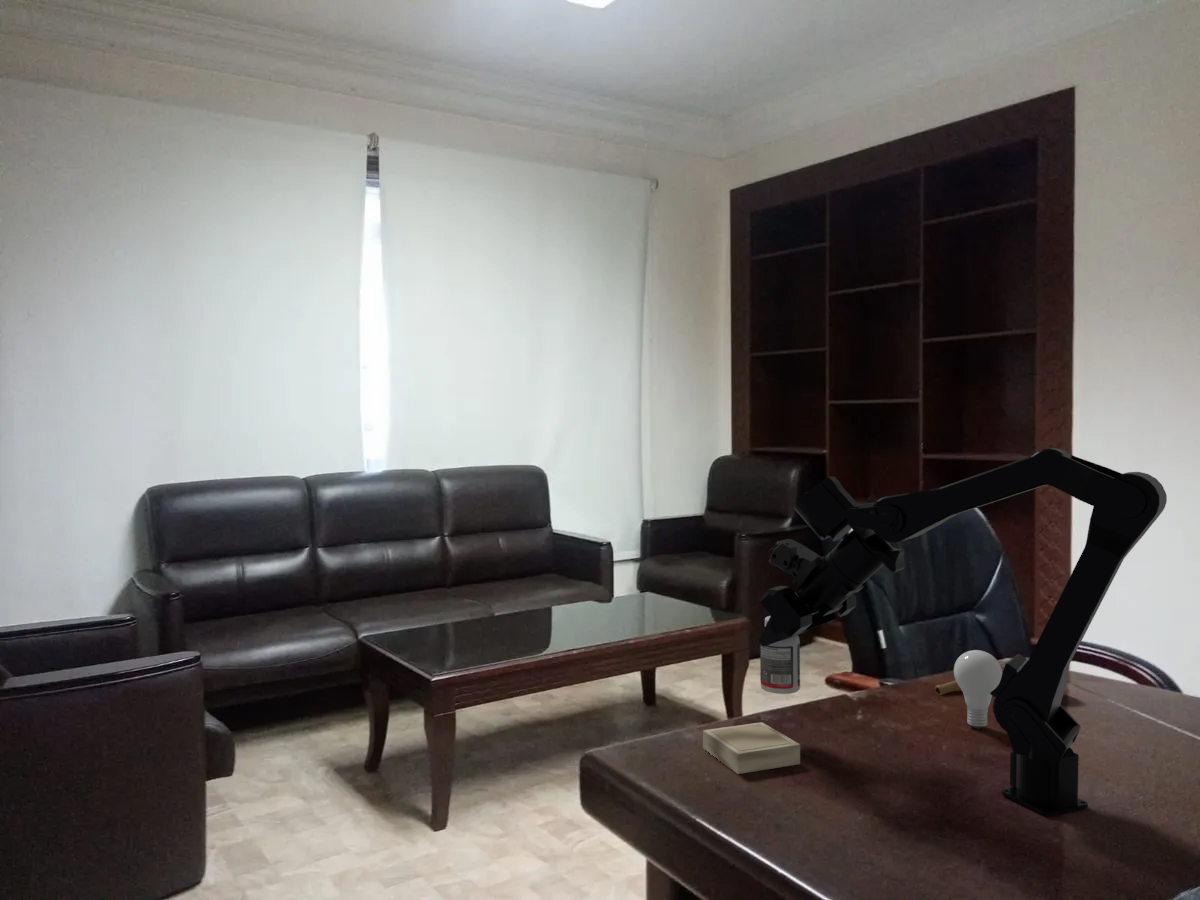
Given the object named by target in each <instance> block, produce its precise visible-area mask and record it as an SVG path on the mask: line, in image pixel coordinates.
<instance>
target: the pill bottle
mask: <svg viewBox="0 0 1200 900" xmlns="http://www.w3.org/2000/svg"><path fill="white" fill-rule="evenodd" d="M770 616H771V615H768V616H766V617H765V618H764V627H765V626H766V624H767V622H768V620H769V618H770ZM759 648H760V649H759V655H760V657H759V660H760V661H759V663H760V665H759V666H760V667H759V668H760V669H759V670H760V678H759V679H760V688H761V689H762V690H763V691H764V692H767V693H771V694H778V695H788V694H794V693H796V692H798V691H799V690H800V689H801V657H800V656H801V655H800V654H801V640H800V637H799V635H796V636H793V637H790V638H787V639H784V640H781V641H778V642H775V643H773V644H770V645H767V646H764V647H763V646H762V645H761V644H760V643H759Z"/></svg>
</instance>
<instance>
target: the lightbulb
mask: <svg viewBox="0 0 1200 900" xmlns="http://www.w3.org/2000/svg"><path fill="white" fill-rule="evenodd" d="M1002 672H1003V670H1002V666H1001V665H1000V663H999V660H997V658H996V657H995V656H994V655H992V654H990V653H989V652H986V651H984V650H979V649H973V650H968V651H965V652H963V653H962V654H961V655H960V656H959V657H957V659H956V661H955V662H954V666H953V676H954V681H955V680H956V682H957V684H958V685H959V687H960V688H961V690H960V691H962V693H963V696H964V697H963V698H964V703H965V704H966V709H967V710H966V715H967V717H966V718H967V719H966V720H967V721H966V723H967V724H968V725H970V726H971V727H972V728H974V729H982V728H984V727H986V726H988V713H989V712H988V710H989V707H990V705H991V700H992V698H993V697H994V695H991V694H990V693H991V692H992V691H993V690H994V689H995V688H996V687H997V686H998V685H999V683H1000V680H1001V677H1002Z"/></svg>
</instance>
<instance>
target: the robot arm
mask: <svg viewBox="0 0 1200 900" xmlns="http://www.w3.org/2000/svg"><path fill="white" fill-rule="evenodd" d="M1045 486H1051V487H1053V488H1055V489H1057V490H1060V491H1061V492H1063V493H1065V494H1067V495H1069V496H1071V497H1072V498H1075V499H1077V500H1079V501H1081V502H1082V503H1085V504H1088V505H1090V506H1092V512H1091V515H1090V518H1089V524H1088V529H1087V536H1086V542H1085V546H1084V548H1083V550H1082V552H1081V554H1080V556H1079V558H1078V560H1077V562H1076V564H1075V566H1074V568H1073V570H1072V572H1071V574H1070V576H1069V578H1068V580H1067V582H1066V584H1065V586H1064V588H1063V590H1062V592H1061V594H1060V596H1059V597H1058V600H1057V602H1056V604H1055V605H1054V608H1053V609H1052V612H1051V614H1050V616H1049V618H1048V619H1047V622H1046V624H1045V626H1044V628H1043V630H1042V631H1041V634H1040V636H1039V638H1038V640H1037V642H1036V644H1035V646H1034V647H1033V650H1032V652H1031V653H1030V655H1029V656H1027V657H1028V658H1027V659H1026V657H1024V656H1023V655H1022V654H1020V653H1018V654H1016V655H1015V656H1014V657H1013V658H1011V659H1010V660H1009V661H1008V662H1006V663H1005V664H1004V667H1003V670H1002V672H1003V673H1002V677H1001V680H1000V683H999V685H998V686H997V687H996V688H995V689H994V690H993V691H992V692H991V693H990V694H991V695H993V696H995V698H994V701H993V703H992V714H993V715H994V717H995V720H996V722H997V723H998V725H999V726H1000V727H1001V729H1002V730H1003V731H1005V732H1006V733H1007V734H1006V735H1007V736H1008V737H1007V738H1008V739H1009V743H1010V745H1011V747H1012V750H1010V754H1009V755H1010V760H1009V761H1010V764H1009V785H1010V787H1008V788H1003V789H1001V795H1002V796H1005V797H1006V798H1009V799H1011V800H1012V801H1015V802H1017V803H1019V804H1021V805H1023V806H1025V807H1027V808H1029V809H1031V810H1033V811H1035V812H1037V813H1039V814H1041V815H1043V816H1045V817H1046V816H1047V817H1048V816H1049V817H1050V816H1055V815H1060V814H1064V813H1065V814H1066V813H1069V812H1074V811H1078V810H1083V809H1087V808H1089V803H1088V801H1086V800H1083V799H1081V798H1079V754H1077V753H1076V752H1074V750H1073V749H1072V748H1071V746H1072V744H1074V743H1075V742H1076V740H1077V737H1078V735H1079V733H1080V731H1081V728H1082V726H1081V725H1080V724H1079V723H1078V722H1077V720H1076V719H1075V718H1074V716H1072V715H1071V714H1070V713H1069V712H1068V711H1067V710H1066V709H1065V707H1063V706H1062V700H1063V697H1064V694H1065V689H1066V685H1067V678H1068V673H1069V669H1070V668H1069V667H1070V665H1071V662H1072V660H1073V659H1074V656H1075V654H1076V652H1077V650H1078V649H1079V646H1080V645H1081V643H1082V640H1083V638H1084V637H1085V634H1086V633H1087V631H1088V629H1089V627H1090V625H1091V623H1092V622H1093V620H1094V617H1095V616H1096V613H1097V611H1098V609H1099V608H1100V606H1101V604H1102V601H1103V600H1104V598H1105V596H1106V594H1107V593H1108V590H1109V588H1110V586H1111V584H1112V582H1113V581H1114V578H1115V577H1116V575H1117V573H1118V571H1119V569H1120V567H1121V565H1122V563H1123V561H1124V560H1125V558H1126V557H1127V555H1128V554H1129V553H1130V552H1131V551H1132V550H1133V548H1134V547H1135V546H1136V545H1137V544H1138V542H1140V540H1141V539H1142V538H1143V537H1144V535H1145V534H1146V533H1147V532H1148V531H1149V529H1150V527H1151V526H1153V524H1154V523H1155V522H1156V521H1157V519H1158V518H1159V517H1160V515H1161V514H1162V513H1163V512H1164V510H1165V508H1166V505H1167V501H1168V499H1167V496H1168V495H1167V493H1166V491H1165V489H1164V486H1163V484H1162V483H1160V481H1159V480H1158V478H1156V477H1154V476H1152V475H1150V474H1149V473H1145V472H1141V471H1129V472H1125V473H1124V472H1123V473H1121V472H1119V471H1116V470H1114V469H1111V468H1109V467H1107V466H1104V465H1101V464H1099V463H1095V462H1092V461H1089V460H1086V459H1083V458H1081V457H1078V456H1075V455H1074V454H1070V453H1069V451H1066V450H1064V449H1062V448H1055V447H1053V448H1052V447H1051V448H1044V449H1040V450H1038V451H1037V452H1035V453H1033V454H1032V455H1029V456H1027V457H1023V458H1022V459H1021V458H1020V459H1018V460H1016V461H1012V462H1009V463H1006V464H1004V465H1000V466H997V467H996V468H992V469H989V470H987V471H983V472H981V473H978V474H975V475H972V476H969V477H966V478H964V479H961V480H958V481H955V482H952V483H949V484H945V485H943V486H940V487H934V488H929V489H924V490H918V491H917V490H916V491H911V492H906V493H905V492H904V493H900V494H893V495H887V496H884V497H881V498H879V499H877V500H876V501H874V503H871V502H870V503H864V504H859V503H858V502H857V501H856V500H855V499H854V498H853V497H852V496H851V494H849V493H848V491H847V490H846V489H845V488H844V486H843V485H842V483H841V481H839V480H838V479H837V477H836V476H826V477H825V479H824V480H822V482H820V483H818V484H816V485H815V486H813V487H812V488H811V489H809V490H808V491H806V492H804V493H802V494H801V495H800V496H799V497H798V498H797V500H796V501H795V503H794V505H793V509H794V511H795V512H796V513H797V514H798V515H799V516H800V517H801V518H802V519H803V521H804V522H805V523H806V524H807V525H808V526H809V528H810V529H811V530H812V531H813V532H814V534H815V535H816V536H817V537H819V539H820V540H821V541H824V540H827V539H830V540H831V541H832V542H836V541H838V540H840V539H842V538H843V537H844V536H845V535H846V534H847V533H848V532H849V533H848V534H847V535H846V536H845V537H844V538H843V539H842V540H841V541H840V542H839V543H838V544H837V545H836V546H835V547H834V548H833V549H832V550H831V551H830V552H828V554H826V555H824V556H821V555H819V554H817V552H815V551H813V550H811V549H810V548H808V547H807V546H805V545H803V544H802V543H800V542H798V541H796V540H794V539H791V538H787V539H782V540H777V541H776V543H774V545H773V547H772V548H770V549H768V555H769V560H768V563H769V564H770V565H771V566H773V567H777V568H779V569H780V570H782V571H784V572H786V573H787V574H789V575H790V576H792V577H794V578H793V579H792V580H791V583H792V584H793V585H794V586H795V587H796V588H797V589H799V590H798V591H794V590H793V589H792V587H791V586H787V585H778V586H774V587H771V588H768V589H767V591H766V592H764V593H763V594H762V595H761V596H760V597H759V602H760V604H761V605H762V606H763V608H764V609H765V610H766V611H767V613H768V614H769V616H770V618H769V620H768V622H767V624H766V626H765V625H764V629H763V631H762V632H761V634H760V636H759V638H758V639H757V641H758V643H759V645H760V644H761V645H762V646H763V647H764V646H767V645H770V644H773V643H775V642H778V641H781V640H784V639H787V638H790V637H793V636H796V635H797V636H799V635H801V634H803V633H806V632H807V631H809V630H812V629H814V628H817V627H820V626H822V625H826V624H828V623H831V622H833V621H836V619H837V616H838V617H839V618H841V617H843V616H846V615H848V614H849V613H851V611H853V610H854V609H855V608H856V607H857V596H856V595H855V593H858V592H860V591H861V590H863V589H864V588H865V586H864V583H866V581H868V580H869V579H870V578H871V577H872V576H873V575H874V574H875V573H877V571H879V570H880V569H881V568H882V567H883V566H885V567H886V568H887V569H888V571H890V572H891V573H897V572H899V571H901V570H904V569H905V568H906V564H905V558H904V555H905V549H904V548H895V547H893V546H892V543H898V542H903V541H906V540H910V539H914V538H917V537H919V536H921V535H923V534H925V533H927V532H929V531H931V530H933V529H935V528H936V527H938V526H940V525H942V524H943V523H945V522H946V521H948V520H950V519H951V518H953V517H955V516H957V515H959V514H962V513H965V512H968V511H971V510H973V509H976V508H980V507H983V506H986V505H989V504H993V503H995V502H998V501H1001V500H1005V499H1007V498H1011V497H1014V496H1016V495H1020V494H1023V493H1027V492H1029V491H1032V490H1036V489H1039V488H1042V487H1045ZM850 530H851V531H850ZM837 611H838V612H837ZM835 612H837V616H836V614H835Z"/></svg>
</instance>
